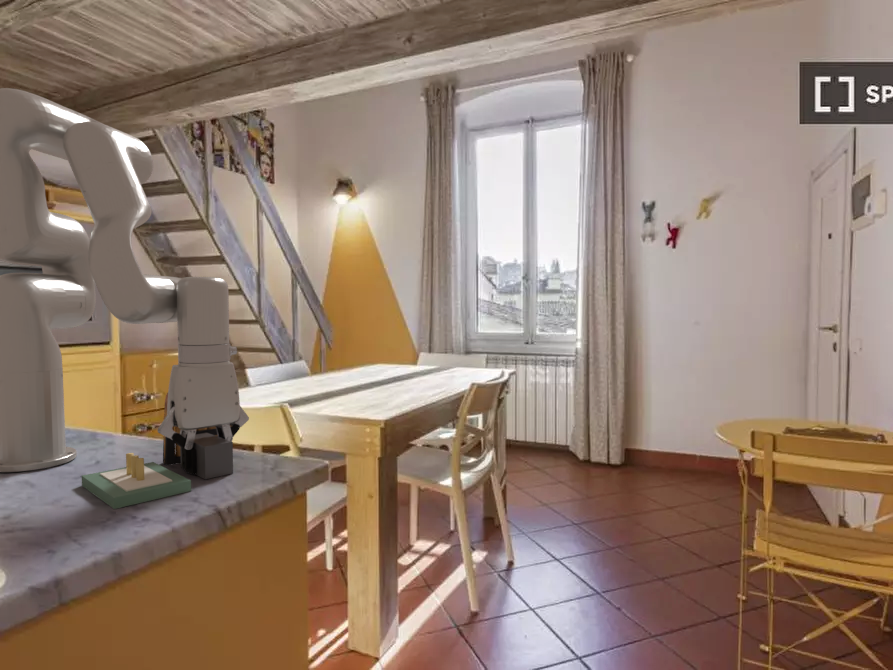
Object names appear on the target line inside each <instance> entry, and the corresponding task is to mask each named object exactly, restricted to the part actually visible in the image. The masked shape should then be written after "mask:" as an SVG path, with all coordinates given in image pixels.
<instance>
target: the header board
mask: <svg viewBox="0 0 893 670" xmlns="http://www.w3.org/2000/svg"><path fill="white" fill-rule="evenodd" d="M125 461H126V463H125V465H126V467H125V466H124V467H119V468H115V469H108V470H103V471H99V472H93V473H89V474H84V475H83V474H82V475H81V486H82V487H83V488H84V489H86V490H87V491H88V492H90V493H91V494H93V495H94V496H95V497H97V498H98V499H99V500H101V501H102V502H104V503H105V504H107V505H108V506H110V507H111V508H112V509H113V510H117V509H120V508H125V507H129V506H134V505H138V504H142V503H146V502H151V501H154V500H159V499H163V498H168V497H171V496H176V495H178V494H183V493H187V492H192V480H191V479H189V478H187V477H185V476H183V475H181V474H178V473H177V472H174V471H173V470H171V469H168V468H166V467H165V466H162V465H160V464H158V463H157V462H154V461H151V462H147V463H145V459H144V457H139V455H137V454H136V455H135V453H134V452H127V453H126V454H125Z"/></svg>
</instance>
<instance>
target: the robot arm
mask: <svg viewBox="0 0 893 670" xmlns="http://www.w3.org/2000/svg"><path fill="white" fill-rule="evenodd" d="M30 150H31V151H32V150H33V151H36V152H39V153H43V154H45V155H48V156H53V157H56V158H59V159H62V160H65V161H67V162H68V164H69V167H70V169H71V172H72V174H73V177H74V178H75V180H76V183H77V185H78V188H79V189H80V192H81V194H82V196H83V199H84V201H85V204H86V206H87V209H88V211H89V214H90V216H91V218H92V220H93V225H94V226H93V229H92V231H91V234H90V237H89V235H88V233H87V231H86V230H85V229H86V228H84V226H83V225H82V224H81V223H80V222H79V221H78V220H76V219H75V218H73V217H72V216H70V215H69V216H68V215H66V214H63V213H62V214H61V213H57V212H53V211H50V209H49V207H48V204H47V203H48V202H47V197H46V186H45V182H44V181H45V180H44V178H43V176H42V173H41V171H40V169H39V168H38V166H37V164H36V162H35V160H34V159H33V158H32V156H31V154H30ZM153 171H154V159H153V156H152V153H151V151H150V149H149V148H148V146H147V145H146V144H145V143H144V142H143V141H142V140H141V139H139V138H138V137H136V136H134V135H131V134H129V133H126V132H124V131H123V130H119V129H118V128H114V127H112V126H110V125H107V124H104V123H103V122H100V121H99V120H96V119H94V118H92V117H89V116H88V115H85V114H84V113H80V112H78V111H76V110H74V109H71V108H68V107H66V106H63V105H61V104H60V103H57V102H55V101H52V100H50V99H47V98H46V97H43V96H40V95H39V94H35V93H32V92H29V91H26V90H23V89H17V88H11V87H10V88H9V87H5V88H4V87H1V88H0V261H1V262H4V263H7V264H12V265H19V266H20V265H22V266H34V267H35V266H37V267H41V270H42V273H38V272H37V273H36V272H9V273H4V274H0V473H18V472H19V473H20V472H28V471H36V470H41V469H49V468H52V467H56V466H60V465H63V464H66V463H68V462H71V461H73V460H74V459H76V458H77V454H78V453H77V452H78V451H77V449H76V448H74V447H72V446H66V445H67V444H66V443H67V442H66V423H65V422H66V420H65V419H66V418H65V398H64V397H65V396H64V394H65V393H64V373H63V371H64V370H63V357H62V352H61V348H60V345H59V343H58V341H57V340H56V338H55V336H54V334H53V332H52V330H60V329H61V330H63V329H64V330H65V329H71V328H76V327H80V326H83V325H84V324H86V323H87V322H88V321H89V320H90V319H92V316H93V314H94V312H95V309H96V303H97V295H96V288H97V290H98V293H99V295H100V297H101V299H102V302H103V303H104V305H105V306H106V309H107V310H108V311H109V312H110V313H111V314H112V316H113V317H114V318H116V319H118V320H119V321H120V322H123V323H126V324H131V325H141V324H142V325H144V324H166V323H176V322H177V325H176V326H177V327H176V328H177V360H178V362H177V363H178V364H173V365H172V367H171V370H170V375H169V382H168V392H167V393H168V403H167V416H166V417H165V419H164V418H163V421H162V422H161V424H160V425H159V426H158V429H157V433H158V434H160V435H162V436H163V437H164V436H166V437H168V438H170V439H171V440H172V441H174V442H175V443H176V444H178V446H180V447H181V454H182V468H181V469H183V471H184V472H185V473H187V474H189V475H192V476H194V475H195V474H196V473H197V458H196V449H194V448H193V444H194V439H195V434H196V429H201V428H208V427H214V426H215V427H216V431H217V435H218V437H221V438H223V439H226V440H229V441H232V442H233V440H234V437H235V435H236V434H237V433H238V432H239V430H240V429H241V428H242V427H243V426H244V425H245V424H247V422H248V421H249V419H250V417H249V416H248V414H247V413H246V411H244V408H243V407H242V406H241V405H240V404H241V403H240V392H239V383H238V378H237V377H238V376H237V373H236V368H235V364H234V363H233V362H232V361H230V360H231V358H232V357H231V356H233V355H237V353H238V349H237V346H232V345H231V343H230V313H229V312H230V304H229V285H228V282H227V280H225V279H223V278H220V277H217V276H216V277H214V276H187V277H177V276H170V275H168V276H167V275H157V274H144V273H143V271H142V270H141V267H140V264H139V263H138V260H137V257H136V255H135V252H134V248H133V242H132V235H133V232H134V229H136V228H138V227H141V226H142V225H143V224H145V223H146V222H148V220H149V219H150V217H151V216H152V207H151V204H150V202H149V199H148V198H147V195H146V193H145V191H144V188H143V186H142V185H143V184H144V183H147V181H148V180H149V179H150V178H151V176H152V173H153ZM173 426H174V427H178V428H179V429H181V430H180V434H179V433H177V432H175V431H173V430H172V427H173Z"/></svg>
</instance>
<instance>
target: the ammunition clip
mask: <svg viewBox="0 0 893 670" xmlns="http://www.w3.org/2000/svg"><path fill="white" fill-rule="evenodd" d="M167 403H168V392H166V394H165V399H164V410H163V411H164V414H163V420H164V419H165V417H166V416H167ZM172 430H173V431H175V432H177V433H179V434H180V430H181V429H179V428H178V427H174V426H173V427H172ZM202 433H209V434H212V435H215V436H218V435H217V431H216V427H215V426H214V427H208V428H201V429H196V434H202ZM196 434H195V435H196ZM162 443H163V444H162V445H163V447H162V463H163V464H164V465H165V466H172V465H171V464H173V465H177V464H176V463H179V464H181V454H180V446H178V444H176V443H175V442H174V441H172V440H171V439H170V438H168V437H166V436H164V435H163V442H162Z"/></svg>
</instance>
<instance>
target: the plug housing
mask: <svg viewBox="0 0 893 670" xmlns="http://www.w3.org/2000/svg"><path fill="white" fill-rule="evenodd" d="M233 445H234V443H233V440H232V441H229V440H226V439H223V438H221V437H218V436H215V435H212V434H209V433H202V434H196V435H195V439H194V444H193V448H194V449H196V458H197V473H196V474H194V475H195V476H198V477H200V478H202V479H203V480H209V479H213V478H214V479H215V478H218V477H223V476H226V475H231V474H234V452H233V451H234V448H233V447H234V446H233ZM180 454H181V447H180ZM180 468H181V469H183V468H182V454H181V463H180Z"/></svg>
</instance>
